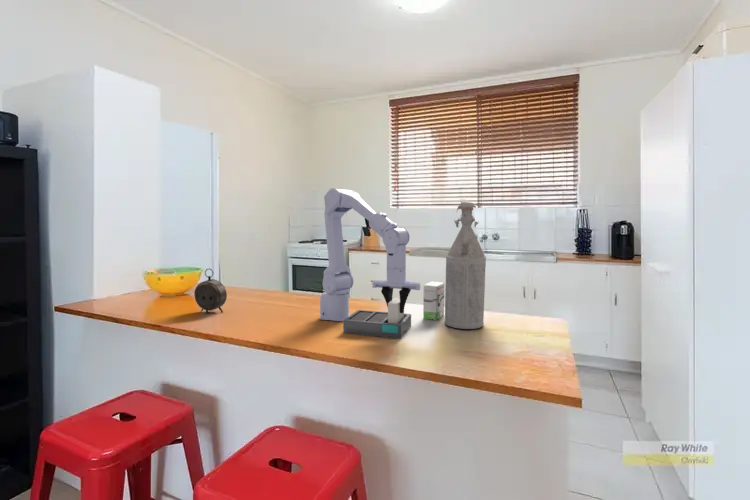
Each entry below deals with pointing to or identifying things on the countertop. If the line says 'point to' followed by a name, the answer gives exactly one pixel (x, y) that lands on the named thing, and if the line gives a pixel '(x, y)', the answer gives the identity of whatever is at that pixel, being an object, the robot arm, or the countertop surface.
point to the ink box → (433, 300)
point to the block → (394, 311)
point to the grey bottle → (465, 276)
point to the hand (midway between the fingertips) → (396, 311)
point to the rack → (375, 324)
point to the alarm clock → (210, 294)
